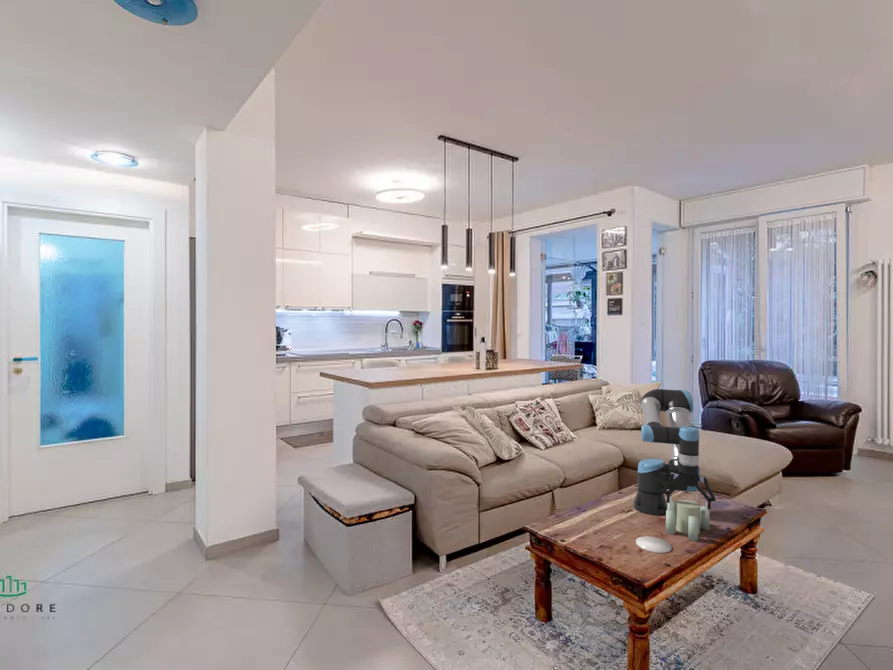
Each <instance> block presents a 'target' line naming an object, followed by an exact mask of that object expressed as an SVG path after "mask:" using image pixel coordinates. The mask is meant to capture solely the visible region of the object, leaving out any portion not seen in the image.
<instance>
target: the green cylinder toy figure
mask: <svg viewBox="0 0 893 670" xmlns="http://www.w3.org/2000/svg"><path fill="white" fill-rule="evenodd" d="M675 502H676V524H675V530H676V531H677V532H679V533H682V534H685V535H688V517H689V516H696V517H698V535H700V534H701V531H700V529H701V528H700V506H701V505H700V503H698V502H696V501H693V500H688V499H679V500H677V501H675Z"/></svg>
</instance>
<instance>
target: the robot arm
mask: <svg viewBox="0 0 893 670" xmlns="http://www.w3.org/2000/svg"><path fill="white" fill-rule="evenodd" d="M639 407H640V409H641V411H642V412H643V413H642V414H643V420H644V424H643V425H641V431H640V432H641V433H640V437H641V441H642V442H644V443H645V442H647V443H650V444H651V443H654V444H668V445H669V444H670V453H671V458H670V459H669V460H668V463H665V461H664V460H663V459H660V458H646V459H642V460H640V461H639V462H638V467H637V492H636V494H635V497H634V499H633V509H635V510H636V511H639V512H641V513H644V514H648V515H654V516H661V515H666V510H667V503H670V510H672V501H673V495H672V494H673V493H674V492H675V491H679V492H684V493H685V492H686V493H689V492H690V493H696V492H697V491H699V492H700V494H701V495H702V496H703V497H704V499H705V500H704V501H705V505H704V506H705V517H706V518H708V509H709V510H710V511H711V509H712V502H716V501H717V500H716V499H717V498H716V496H715V494H714V492H713V490H712V489H711V487H710V484H709V483H708V477H707V476H701V468H700V467H699V464H700V463H699V462H700V458H699V457H700V430H699V429H698V428H695V427H692V426H689V421H688V420H689V419H688V418H689V417H690V416H691V414H692V413H693V411H694V403H693V398H692V395H691V392H689V391H688V390H683V389H665V388H663V389H662V388H656V389H651V390H649V391H647V392H646V393H644V394H643V396H642V397H641V399H640V401H639ZM661 412H664V414H665V416H666V417H667V418H668V424H669V425H668V426H664V425H663V423H662V417H661ZM700 482H701V483H702V484H703V483H704V486H705V488H706V490H707V492H708V494H707V493H706V491H705V490H704V489H703V488H702V487H701V485H700Z"/></svg>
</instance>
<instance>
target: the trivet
mask: <svg viewBox="0 0 893 670" xmlns="http://www.w3.org/2000/svg"><path fill="white" fill-rule="evenodd" d="M635 544H636V546H638V547H639V548H640V549H643V550H644V551H647V552H650V553H656V554H667V553H669V552H671V551H672V549H673V547H672V545H671V543H669V541H667V540H665V539H662V538H659V537H656V536H647V535H645V536H639V537H637V538H636V539H635Z"/></svg>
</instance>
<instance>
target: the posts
mask: <svg viewBox="0 0 893 670" xmlns="http://www.w3.org/2000/svg"><path fill="white" fill-rule="evenodd" d="M676 502H677V501H674V500H672V510H670V503H667V510H666V514H665V533H666V534H668V535H675V534H676V517H677V503H676ZM710 515H711V509H710V510H709V509H708V518H706V517H705V505H700V529H702V530H705V531H709V530H710V525H711V524H710V521H711V520H710V519H711V518H710V517H711V516H710ZM687 538H688V540H689V541H691V542H698V541H699V534H698V517H696V516H689V517H688V534H687Z"/></svg>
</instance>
